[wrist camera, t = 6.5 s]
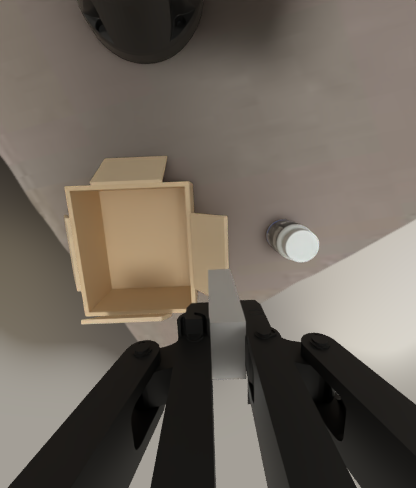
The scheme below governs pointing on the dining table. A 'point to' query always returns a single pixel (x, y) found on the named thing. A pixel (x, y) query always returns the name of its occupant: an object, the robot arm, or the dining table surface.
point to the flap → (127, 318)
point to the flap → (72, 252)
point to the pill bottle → (292, 240)
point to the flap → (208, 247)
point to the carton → (133, 247)
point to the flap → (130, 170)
